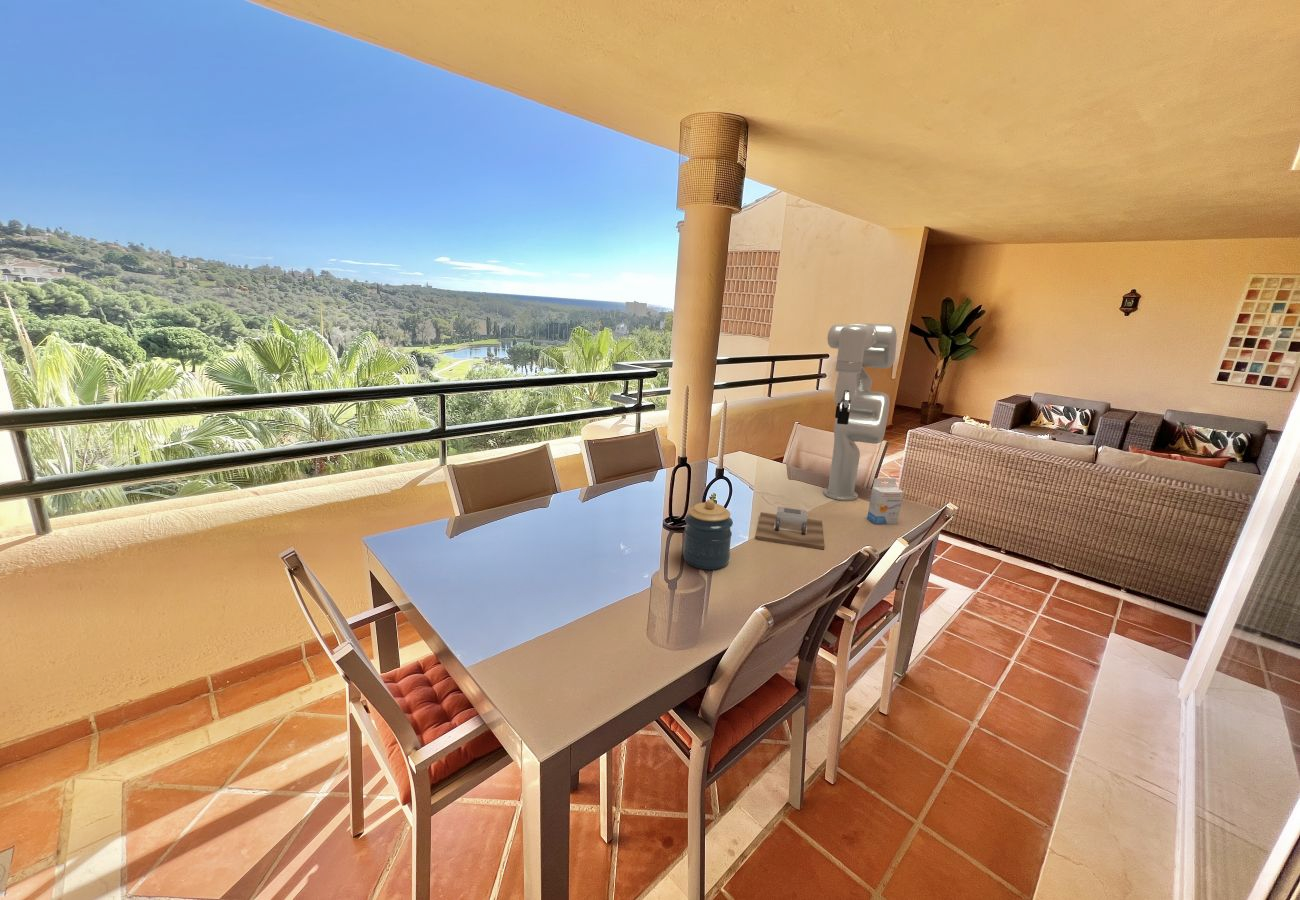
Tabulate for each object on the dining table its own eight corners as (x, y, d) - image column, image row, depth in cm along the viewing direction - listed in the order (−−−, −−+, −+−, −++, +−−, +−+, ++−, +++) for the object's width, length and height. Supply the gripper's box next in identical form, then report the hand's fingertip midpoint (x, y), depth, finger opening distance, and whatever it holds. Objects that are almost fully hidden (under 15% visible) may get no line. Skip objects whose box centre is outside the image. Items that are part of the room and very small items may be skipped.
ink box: (874, 524, 167) (881, 482, 163) (866, 518, 172) (873, 478, 168) (898, 524, 168) (905, 482, 164) (889, 518, 173) (896, 477, 169)
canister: (728, 573, 132) (733, 511, 127) (679, 567, 134) (683, 506, 130) (730, 551, 144) (735, 494, 140) (685, 546, 147) (689, 489, 142)
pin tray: (760, 515, 171) (761, 503, 170) (821, 523, 166) (823, 512, 165) (755, 539, 153) (756, 526, 152) (824, 549, 148) (825, 536, 146)
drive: (776, 522, 162) (778, 506, 161) (805, 526, 160) (807, 510, 158) (775, 527, 158) (777, 511, 157) (805, 532, 156) (807, 515, 154)
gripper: (834, 364, 165) (827, 415, 169) (837, 369, 149) (830, 425, 153) (858, 365, 163) (851, 417, 167) (864, 370, 147) (856, 427, 151)
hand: (841, 421), depth 160 cm, fingers open, 9 cm apart
